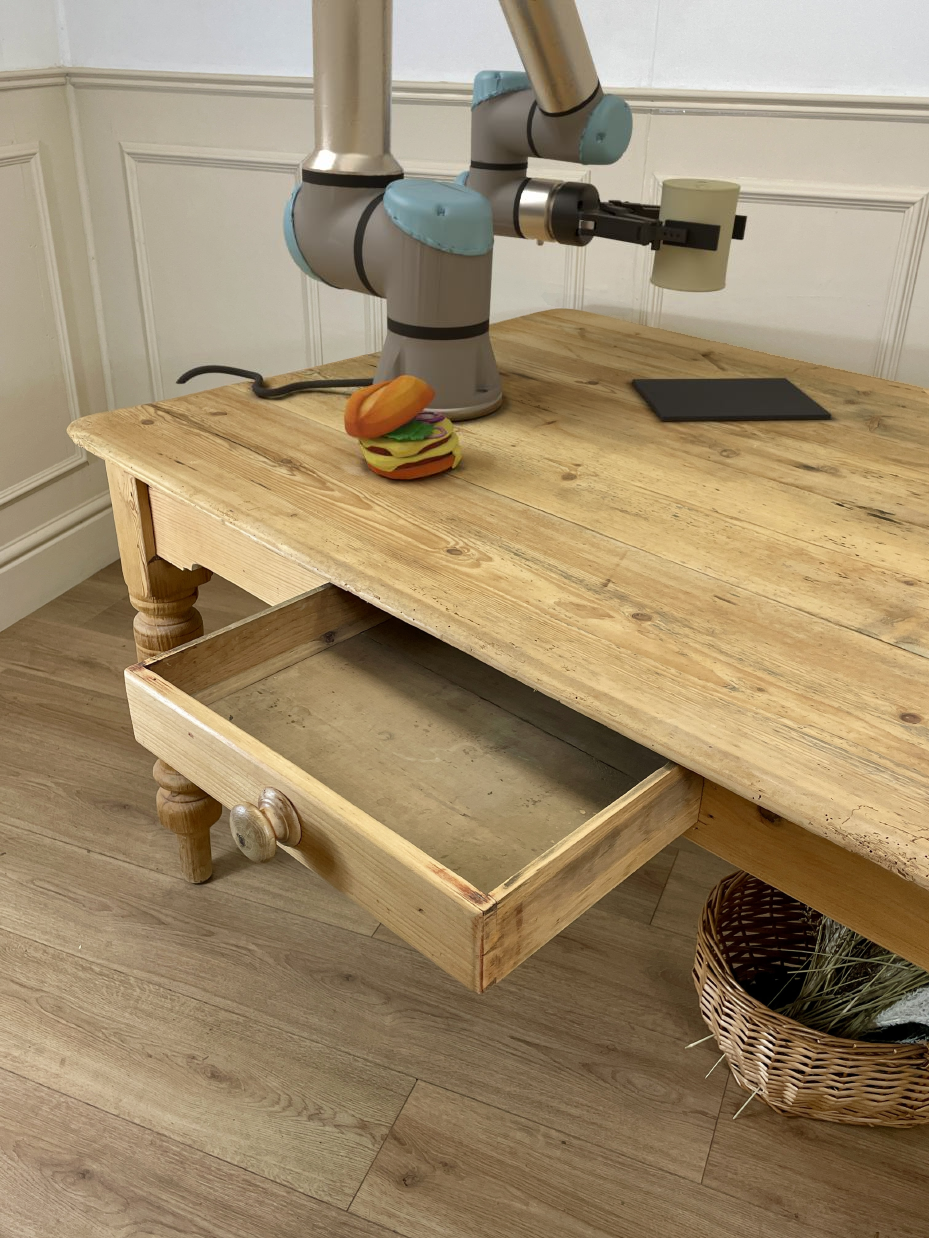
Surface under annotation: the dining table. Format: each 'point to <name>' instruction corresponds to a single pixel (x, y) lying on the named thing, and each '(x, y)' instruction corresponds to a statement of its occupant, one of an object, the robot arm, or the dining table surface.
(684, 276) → the can
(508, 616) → the dining table surface
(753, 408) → the placemat
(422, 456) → the cheeseburger
